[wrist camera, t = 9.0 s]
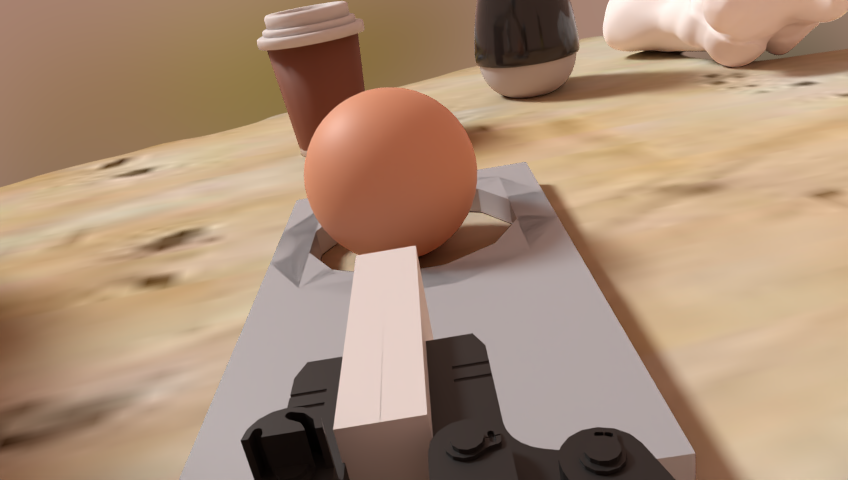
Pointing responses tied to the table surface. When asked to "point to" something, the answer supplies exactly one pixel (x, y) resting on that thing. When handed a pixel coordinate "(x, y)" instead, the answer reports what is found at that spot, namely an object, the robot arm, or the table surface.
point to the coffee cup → (314, 62)
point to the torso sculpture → (716, 26)
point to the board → (452, 316)
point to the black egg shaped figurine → (525, 45)
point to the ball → (390, 172)
